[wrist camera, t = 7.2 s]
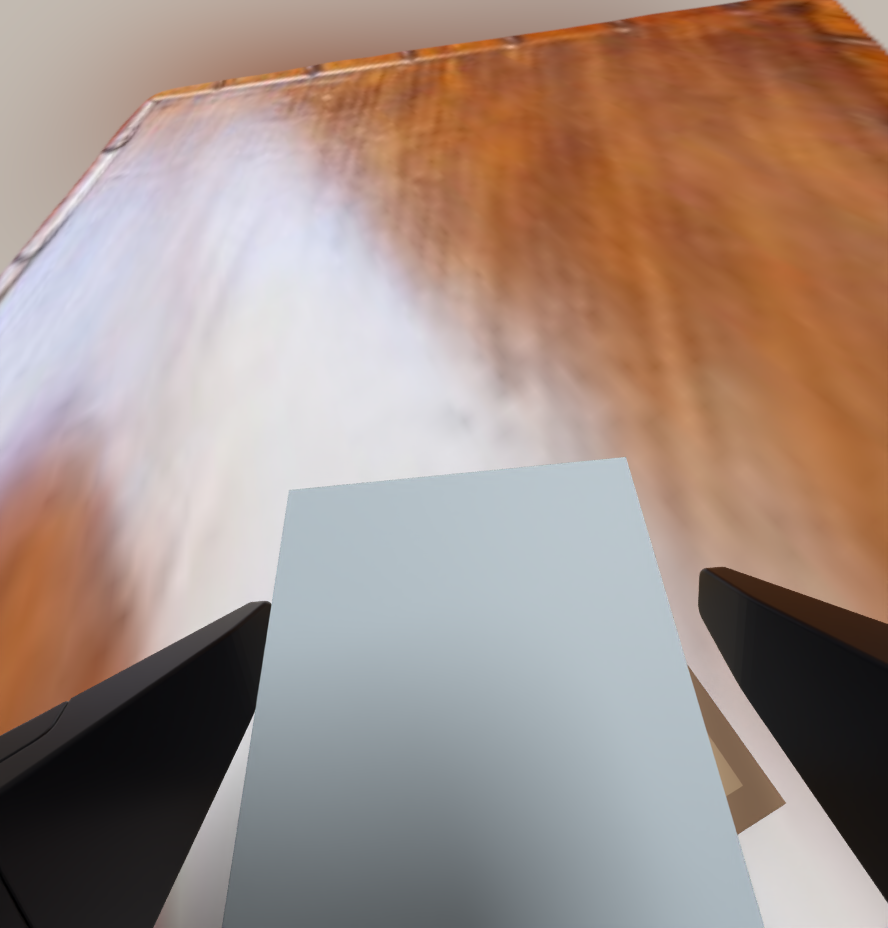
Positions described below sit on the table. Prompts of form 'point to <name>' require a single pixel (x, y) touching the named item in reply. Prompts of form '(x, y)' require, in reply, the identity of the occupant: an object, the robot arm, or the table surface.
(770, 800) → the plinth
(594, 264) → the table surface
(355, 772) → the block
